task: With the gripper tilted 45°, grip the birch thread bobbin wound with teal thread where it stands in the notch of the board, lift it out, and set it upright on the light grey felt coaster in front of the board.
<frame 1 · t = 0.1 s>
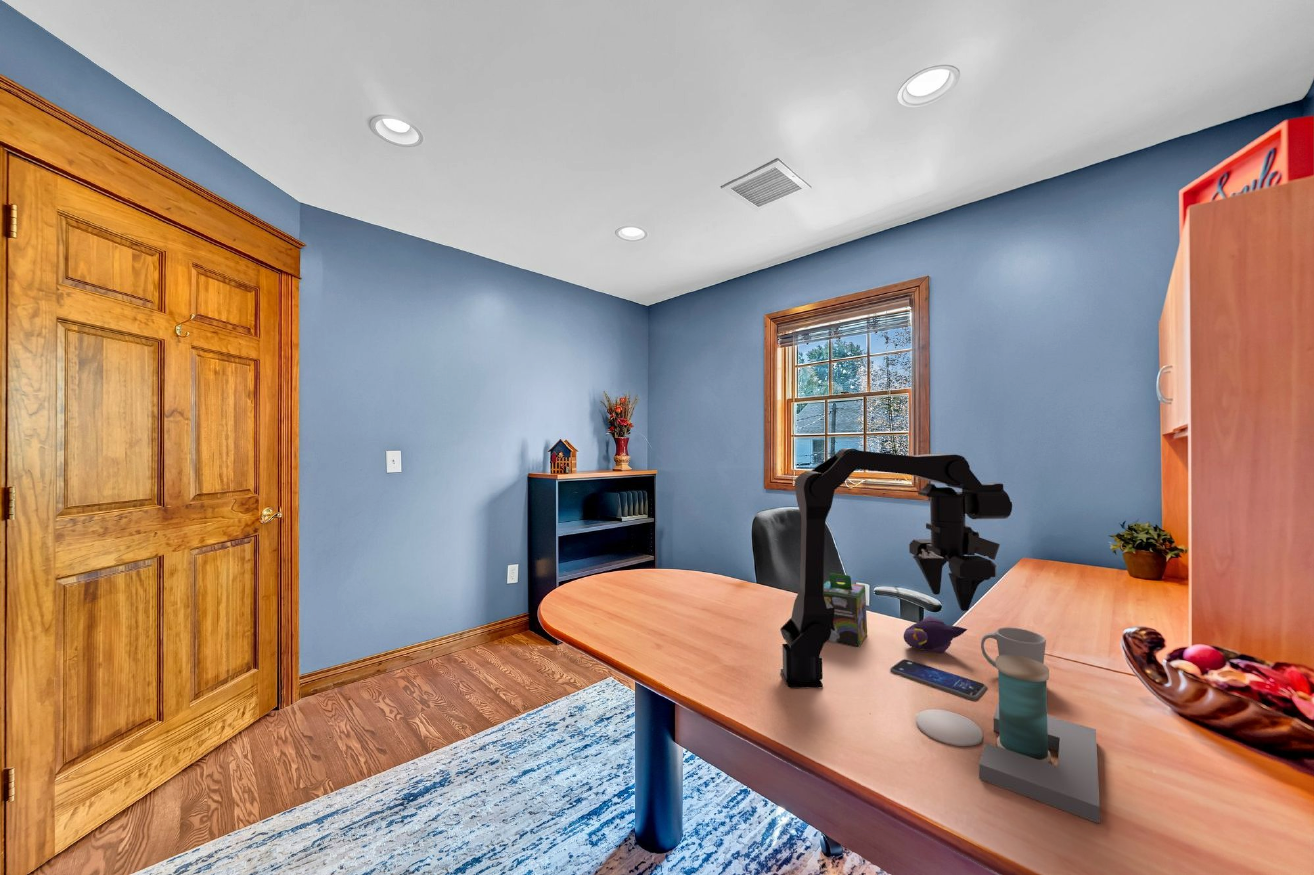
hand: (949, 601, 92), 15 cm above the table, fingers open, 9 cm apart
notched board: (1040, 759, 69), on the table
bobbin: (1023, 753, 70), on the table
chalk box: (842, 637, 113), on the table
smartphone: (936, 682, 92), on the table
toy: (935, 652, 104), on the table
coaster: (948, 728, 77), on the table
cup: (1013, 679, 92), on the table
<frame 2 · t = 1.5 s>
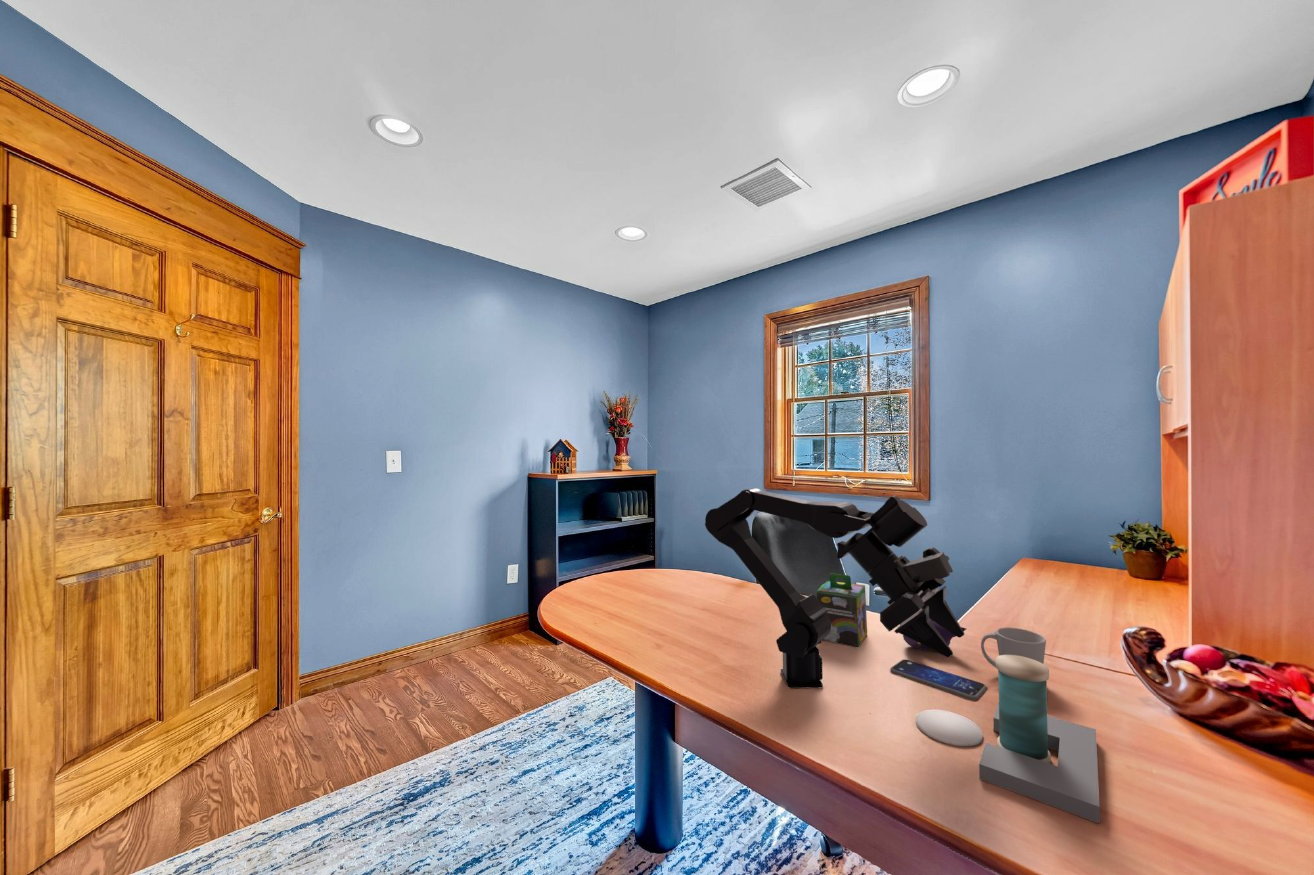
hand: (956, 645, 76), 14 cm above the table, fingers open, 9 cm apart
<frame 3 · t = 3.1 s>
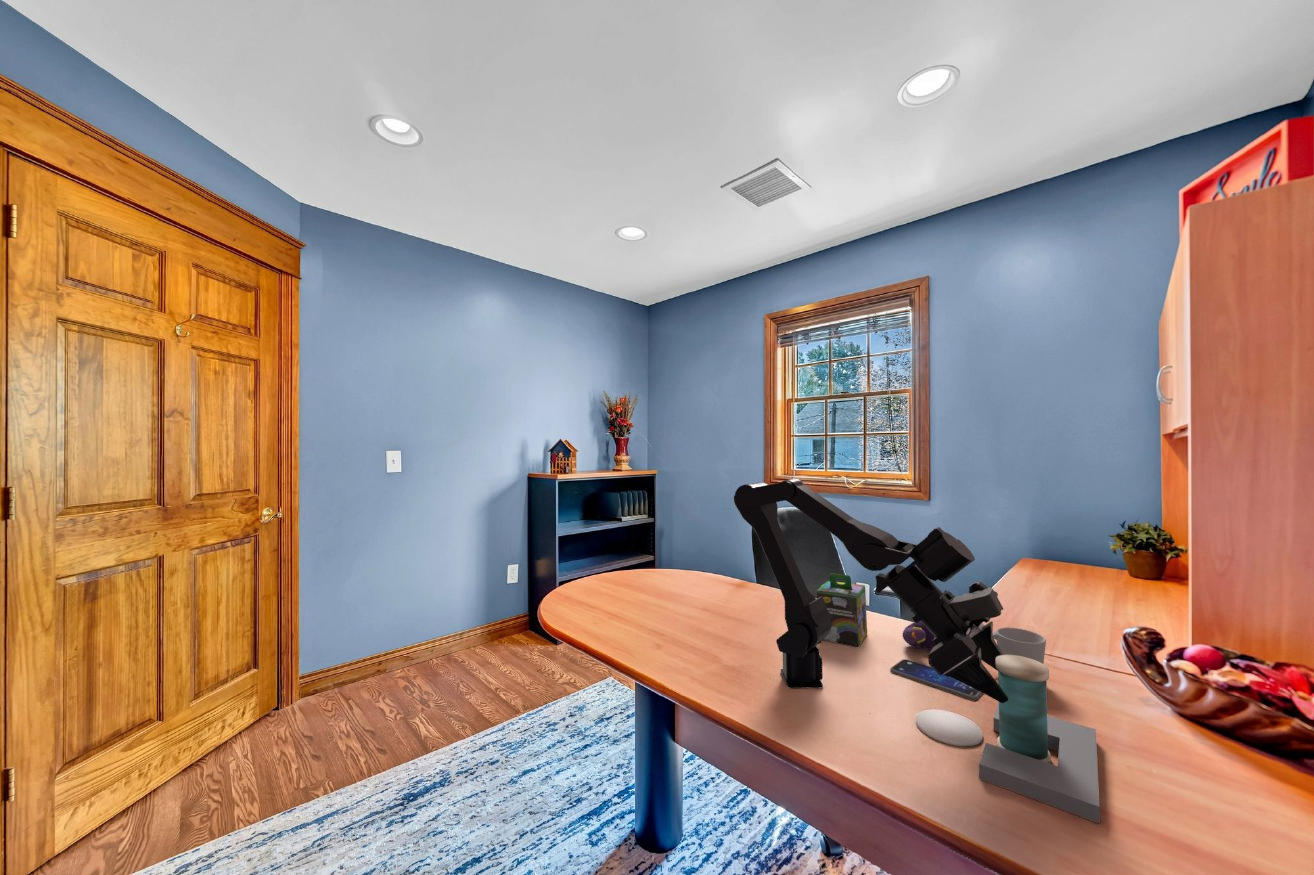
hand: (1009, 688, 71), 9 cm above the table, fingers open, 9 cm apart
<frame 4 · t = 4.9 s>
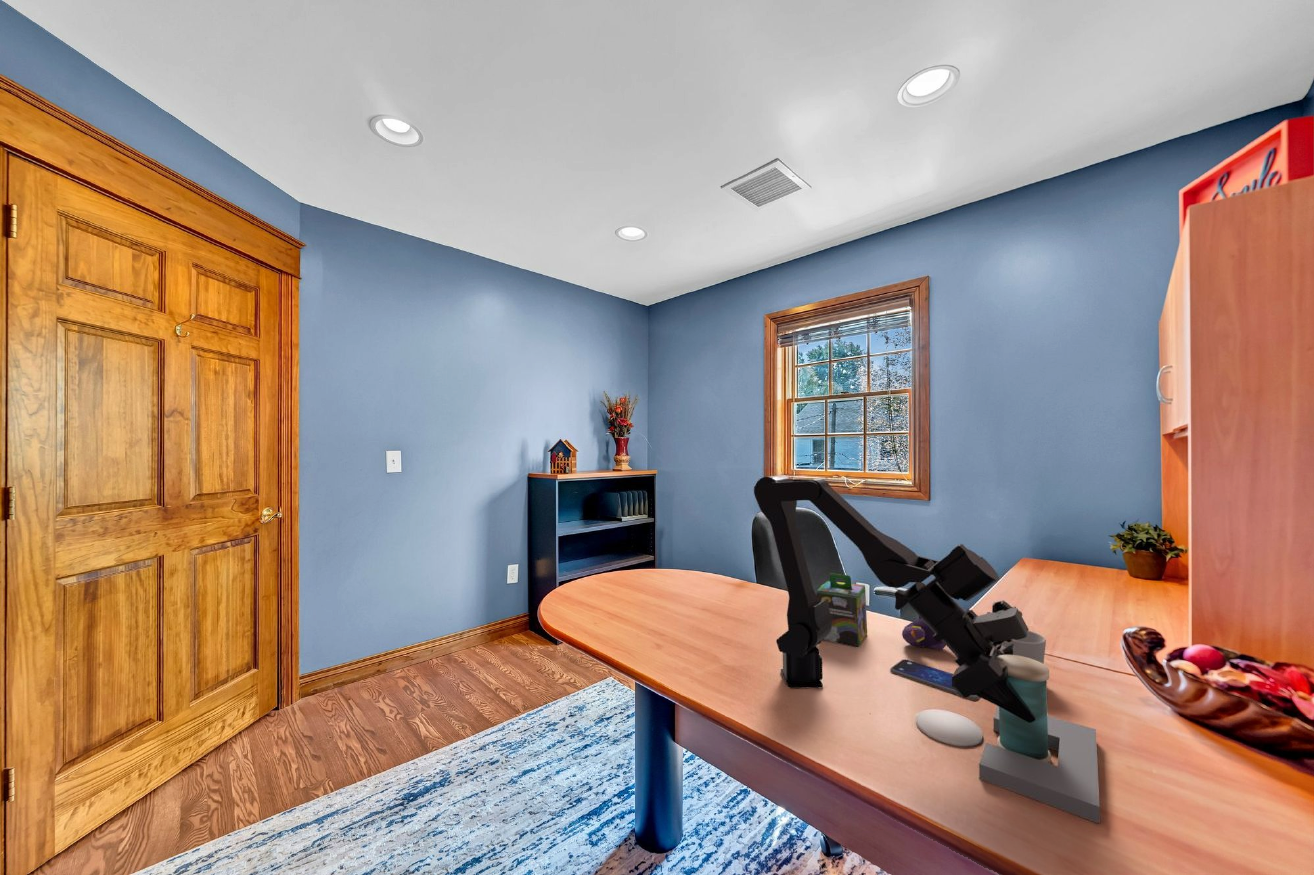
hand: (1034, 711, 70), 7 cm above the table, fingers closed on bobbin, 6 cm apart
bobbin: (1023, 753, 70), on the table, touching gripper
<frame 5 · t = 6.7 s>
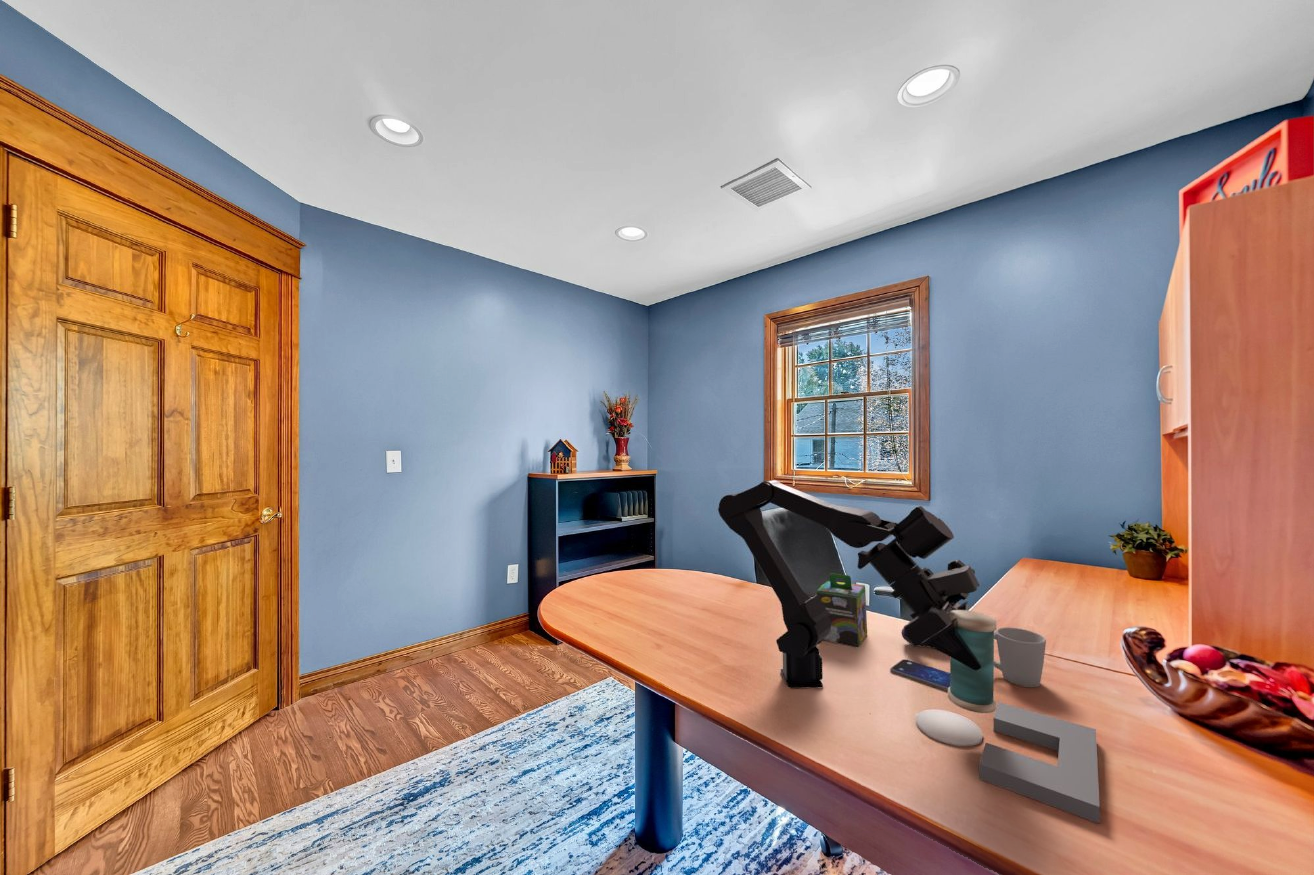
hand: (982, 661, 74), 12 cm above the table, fingers closed on bobbin, 6 cm apart
bobbin: (971, 701, 75), point 5 cm above the table, touching gripper
when the fingers open (8 cm above the table, at t = 8.9 s): bobbin stays where it is, resting on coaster.
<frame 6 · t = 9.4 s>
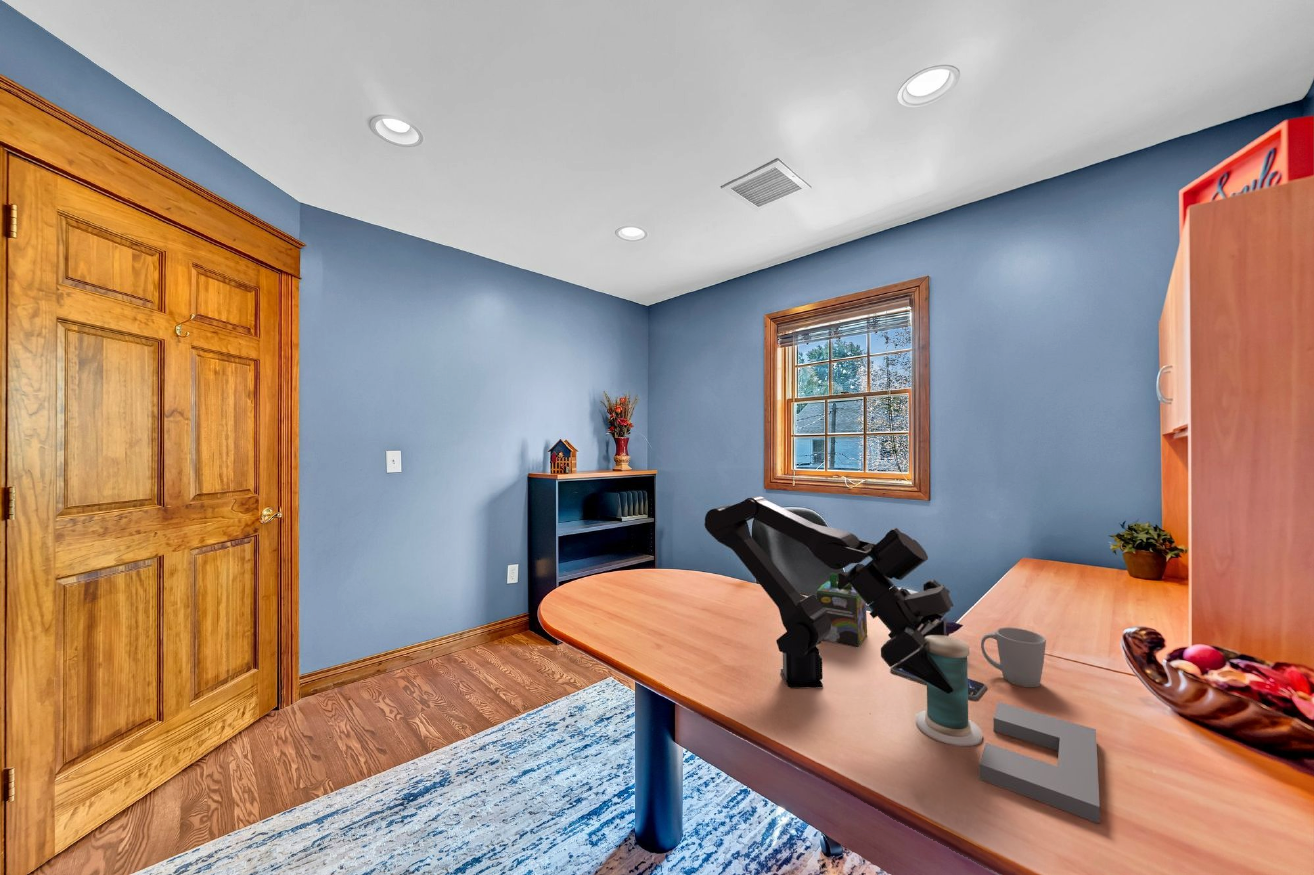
hand: (957, 680, 76), 8 cm above the table, fingers open, 9 cm apart
bobbin: (947, 724, 77), point 1 cm above the table, touching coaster
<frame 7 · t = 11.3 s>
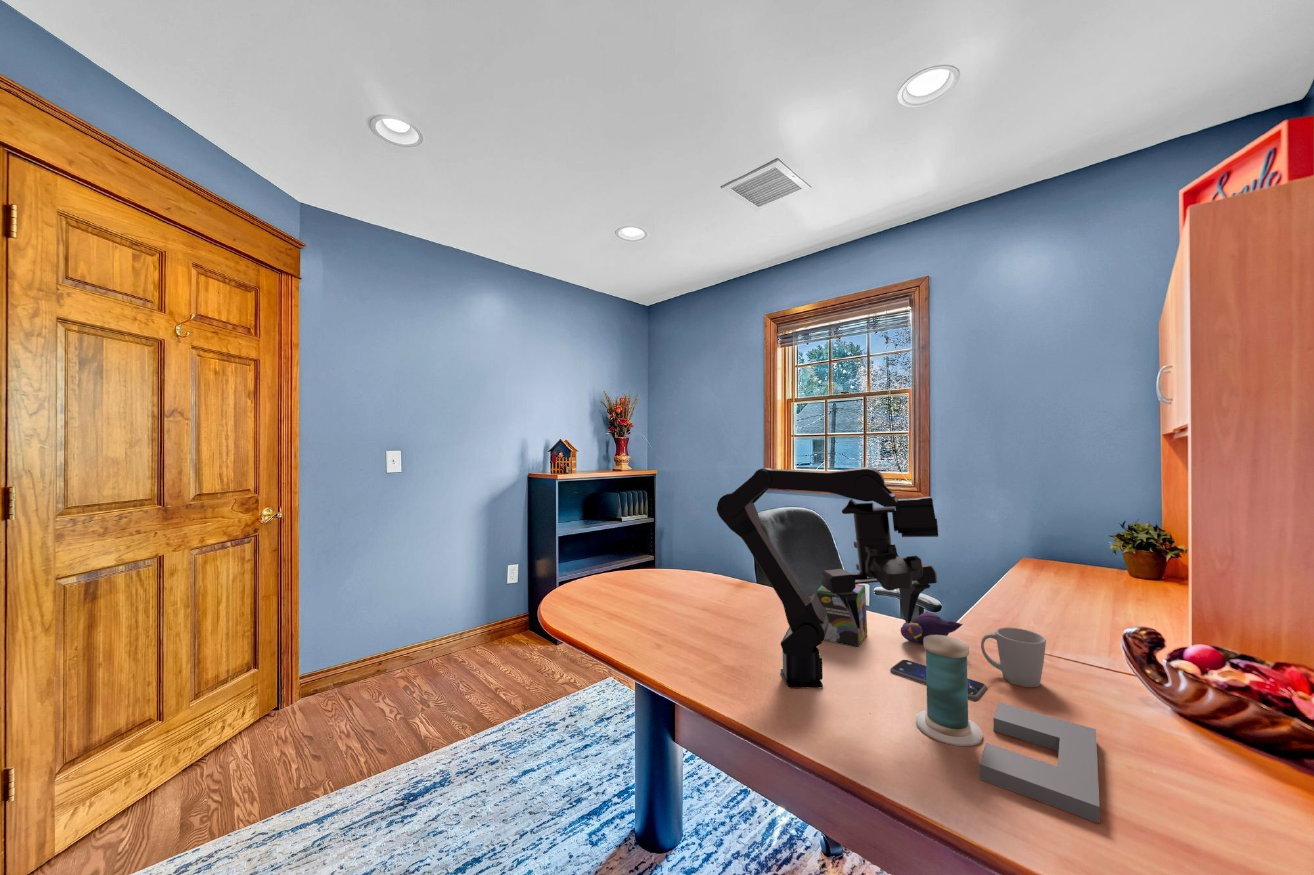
hand: (882, 625, 87), 13 cm above the table, fingers open, 9 cm apart
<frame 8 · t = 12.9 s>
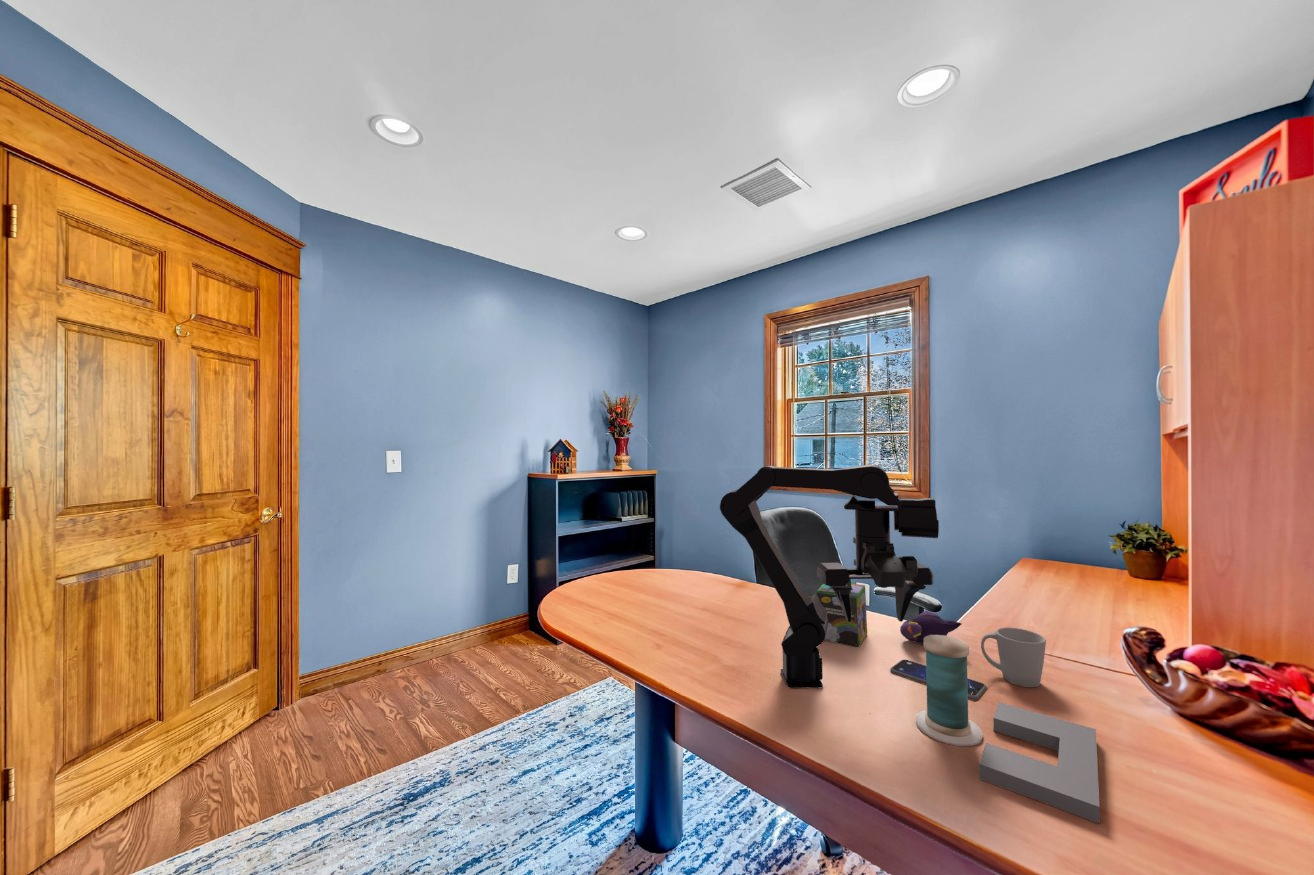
hand: (874, 621, 88), 13 cm above the table, fingers open, 9 cm apart
at the end: bobbin 0.1 cm from the target spot, point 0.5 cm above the table; bobbin tilted 0°; bobbin touching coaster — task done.
